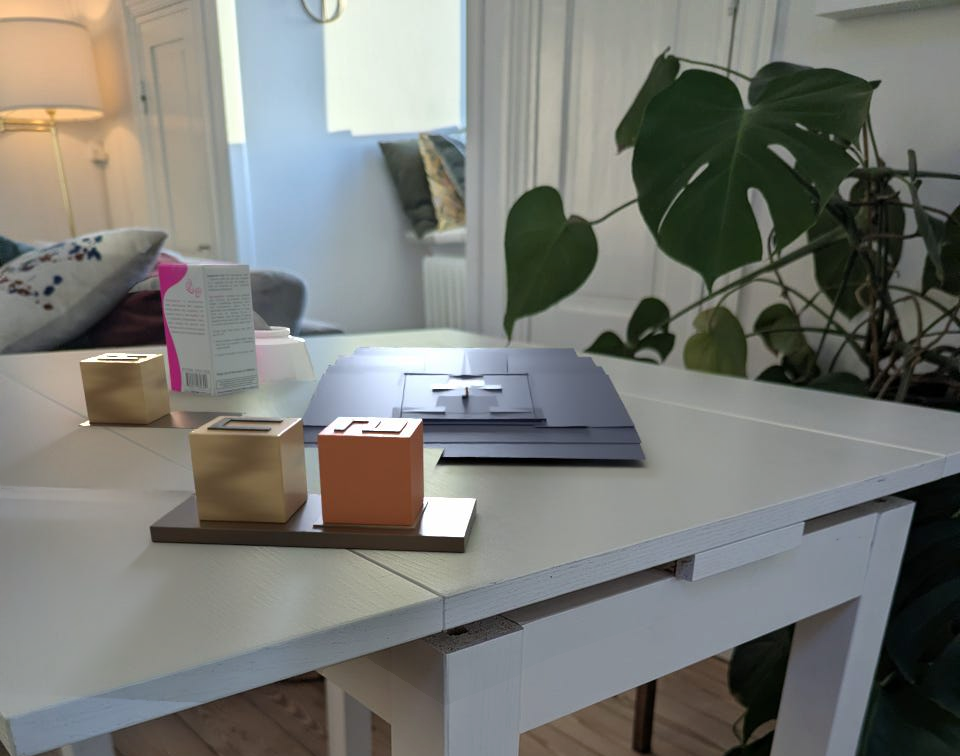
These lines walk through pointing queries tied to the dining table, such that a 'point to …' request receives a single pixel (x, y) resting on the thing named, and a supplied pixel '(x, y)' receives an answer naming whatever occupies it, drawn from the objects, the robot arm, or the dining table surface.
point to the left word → (134, 394)
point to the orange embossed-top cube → (371, 470)
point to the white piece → (268, 348)
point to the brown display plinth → (286, 497)
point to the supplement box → (209, 327)
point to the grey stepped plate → (482, 401)
